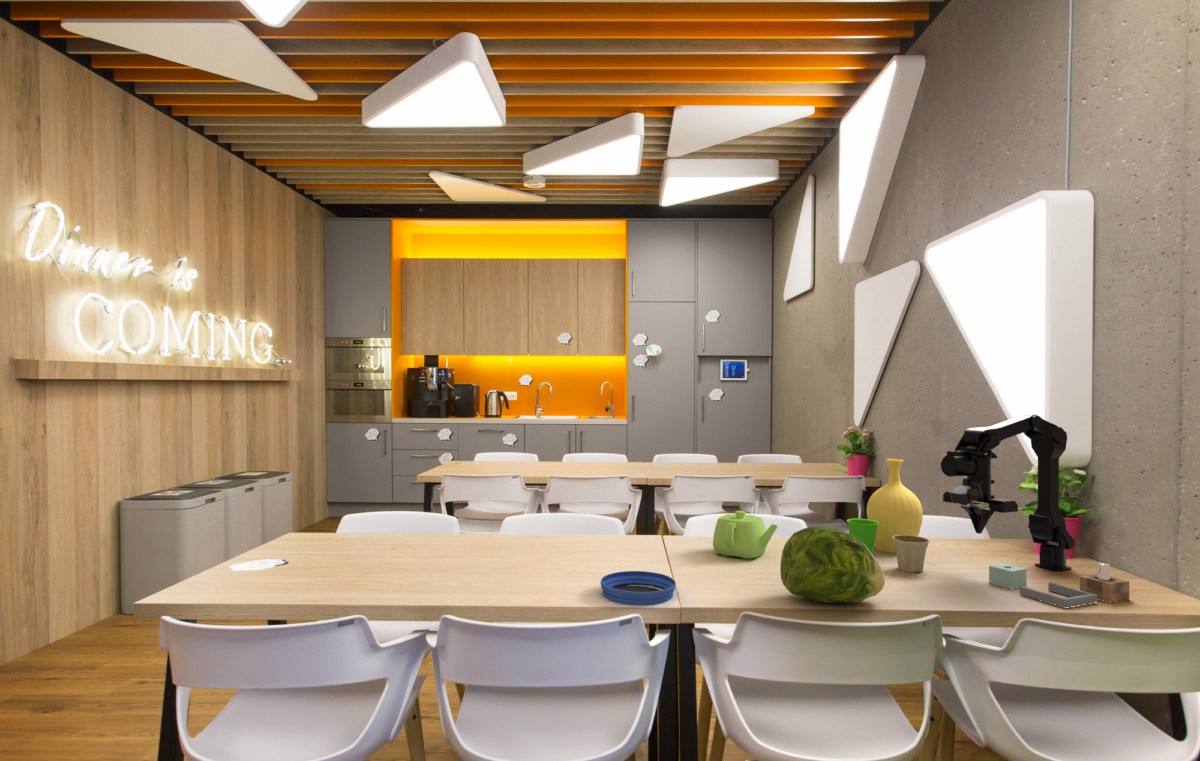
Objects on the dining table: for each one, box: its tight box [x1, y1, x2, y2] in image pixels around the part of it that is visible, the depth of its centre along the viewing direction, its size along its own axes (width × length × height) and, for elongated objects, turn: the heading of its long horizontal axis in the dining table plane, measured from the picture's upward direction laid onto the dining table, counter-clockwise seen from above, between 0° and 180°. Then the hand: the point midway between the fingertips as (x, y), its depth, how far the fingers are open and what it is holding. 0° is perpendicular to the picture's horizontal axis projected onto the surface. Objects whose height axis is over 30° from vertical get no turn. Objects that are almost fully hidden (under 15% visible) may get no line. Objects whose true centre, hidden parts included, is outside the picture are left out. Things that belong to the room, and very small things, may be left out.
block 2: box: [1079, 573, 1130, 603], centre depth 164 cm, size 7×7×4 cm
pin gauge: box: [1097, 562, 1111, 581], centre depth 164 cm, size 2×2×8 cm
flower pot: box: [892, 535, 930, 573], centre depth 187 cm, size 9×9×9 cm
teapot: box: [712, 510, 779, 560], centre depth 202 cm, size 18×20×13 cm
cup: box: [845, 518, 879, 556], centre depth 199 cm, size 9×9×11 cm
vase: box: [866, 458, 924, 554], centre depth 211 cm, size 16×16×28 cm
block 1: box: [988, 562, 1028, 589], centre depth 174 cm, size 6×6×5 cm
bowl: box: [600, 570, 677, 606], centre depth 164 cm, size 18×18×4 cm
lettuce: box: [779, 525, 886, 604], centre depth 160 cm, size 18×23×19 cm
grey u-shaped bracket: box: [1019, 581, 1098, 608], centre depth 162 cm, size 11×11×2 cm
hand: (978, 533), depth 182 cm, fingers closed
